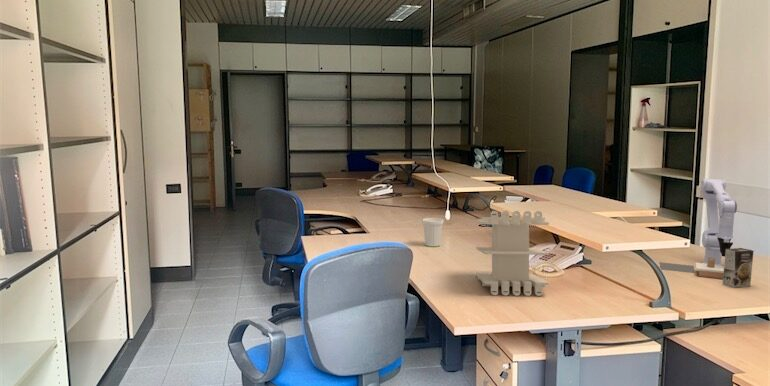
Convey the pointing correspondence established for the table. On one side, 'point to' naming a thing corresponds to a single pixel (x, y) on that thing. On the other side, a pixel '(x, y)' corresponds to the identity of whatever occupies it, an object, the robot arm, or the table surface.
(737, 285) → the coffee box
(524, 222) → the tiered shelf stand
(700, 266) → the lid
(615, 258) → the table surface
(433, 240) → the cup
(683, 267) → the mat
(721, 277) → the open box
